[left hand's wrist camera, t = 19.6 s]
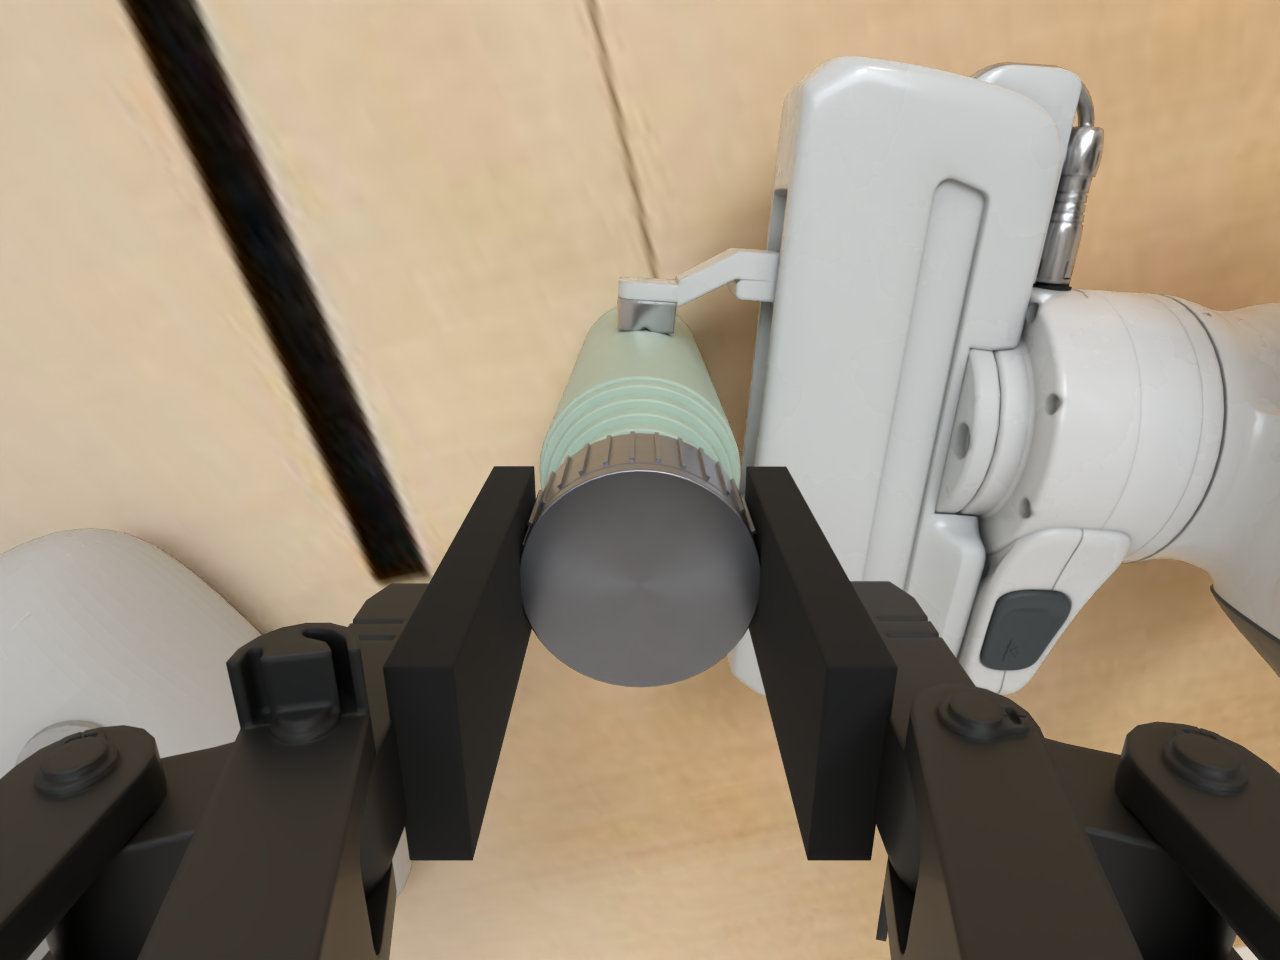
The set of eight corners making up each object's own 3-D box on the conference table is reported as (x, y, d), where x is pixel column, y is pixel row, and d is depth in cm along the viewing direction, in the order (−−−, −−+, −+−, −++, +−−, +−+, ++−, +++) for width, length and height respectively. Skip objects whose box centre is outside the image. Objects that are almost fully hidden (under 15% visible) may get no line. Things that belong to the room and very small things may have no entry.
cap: (569, 649, 15) (558, 713, 13) (501, 461, 14) (478, 504, 12) (769, 600, 15) (788, 659, 13) (720, 402, 14) (733, 436, 12)
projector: (4, 882, 40) (-332, 1241, 26) (-113, 478, 32) (-687, 688, 18) (423, 905, 40) (311, 1268, 27) (410, 515, 32) (241, 744, 19)
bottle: (710, 315, 30) (807, 468, 12) (684, 428, 31) (738, 700, 14) (592, 291, 29) (526, 412, 12) (572, 406, 31) (487, 657, 14)
